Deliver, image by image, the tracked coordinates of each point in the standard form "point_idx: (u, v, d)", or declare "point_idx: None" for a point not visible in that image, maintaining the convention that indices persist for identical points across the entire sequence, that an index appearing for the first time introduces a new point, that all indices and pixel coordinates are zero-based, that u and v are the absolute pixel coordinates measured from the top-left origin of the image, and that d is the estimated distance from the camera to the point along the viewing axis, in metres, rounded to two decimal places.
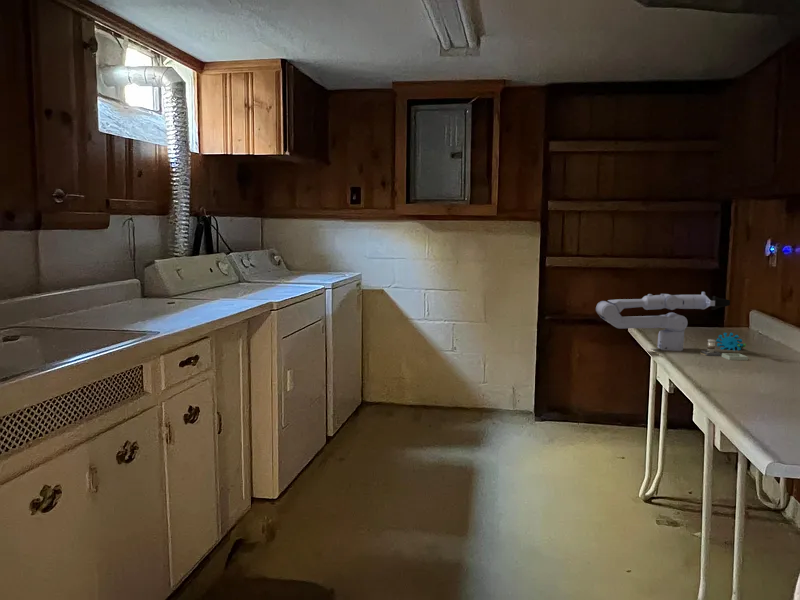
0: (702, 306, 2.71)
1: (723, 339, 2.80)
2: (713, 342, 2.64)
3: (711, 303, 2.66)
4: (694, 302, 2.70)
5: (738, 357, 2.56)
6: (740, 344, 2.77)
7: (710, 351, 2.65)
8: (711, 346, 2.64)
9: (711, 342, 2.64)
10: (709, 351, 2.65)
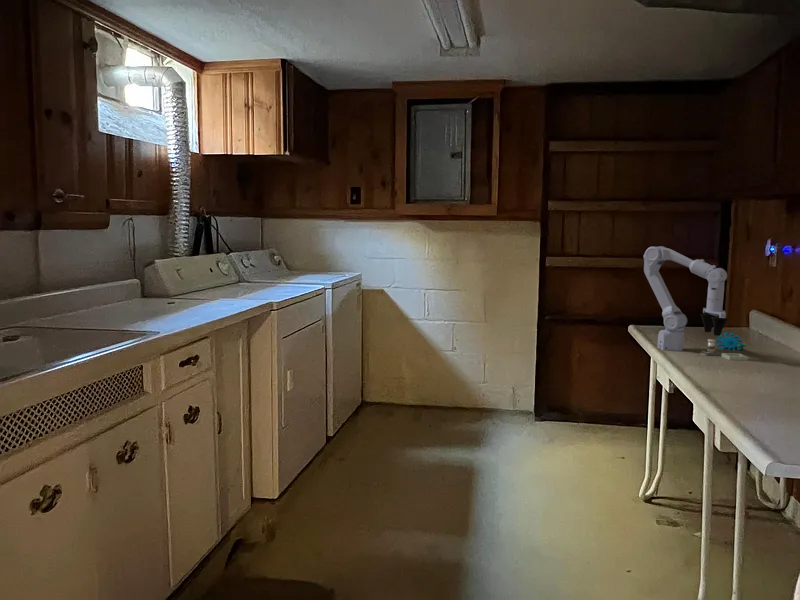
0: (712, 309, 2.61)
1: (723, 339, 2.80)
2: (713, 342, 2.64)
3: (723, 314, 2.57)
4: (718, 300, 2.60)
5: (738, 357, 2.56)
6: (740, 344, 2.77)
7: (710, 351, 2.65)
8: (711, 346, 2.64)
9: (711, 342, 2.64)
10: (709, 351, 2.65)
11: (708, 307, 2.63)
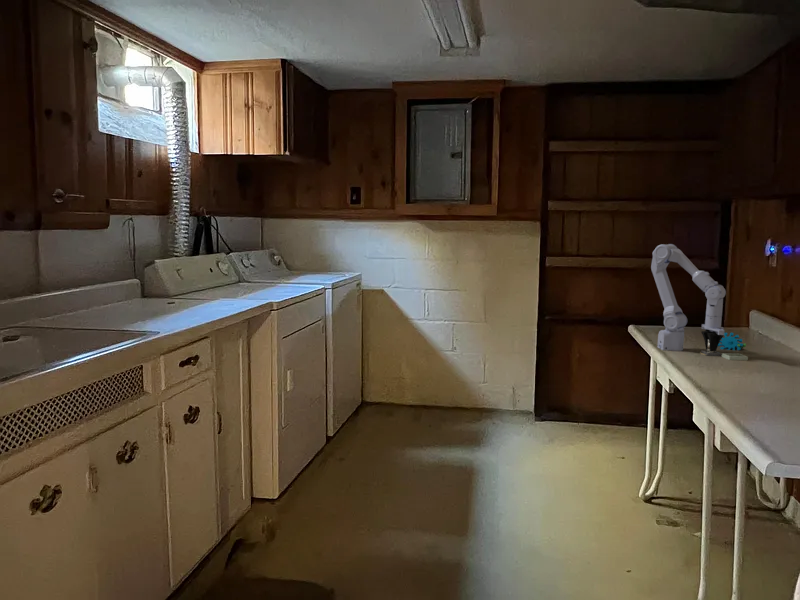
0: (711, 325, 2.62)
1: (723, 339, 2.80)
2: None
3: (721, 331, 2.58)
4: (717, 317, 2.61)
5: (738, 357, 2.56)
6: (740, 344, 2.77)
7: (710, 351, 2.65)
8: None
9: None
10: (709, 351, 2.65)
11: (707, 324, 2.64)
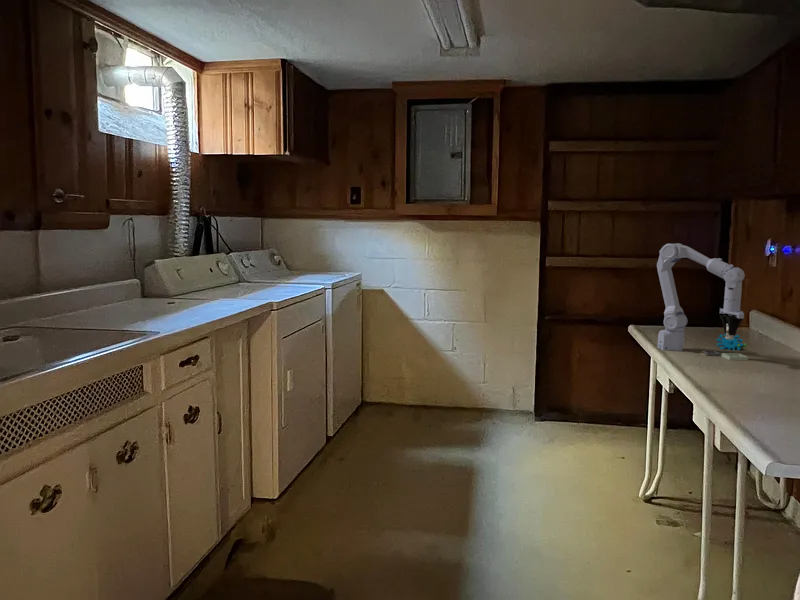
0: (730, 309, 2.57)
1: (723, 339, 2.81)
2: None
3: (741, 314, 2.52)
4: (736, 300, 2.56)
5: (738, 357, 2.56)
6: (740, 344, 2.77)
7: (729, 335, 2.59)
8: None
9: None
10: (728, 335, 2.59)
11: (725, 307, 2.58)
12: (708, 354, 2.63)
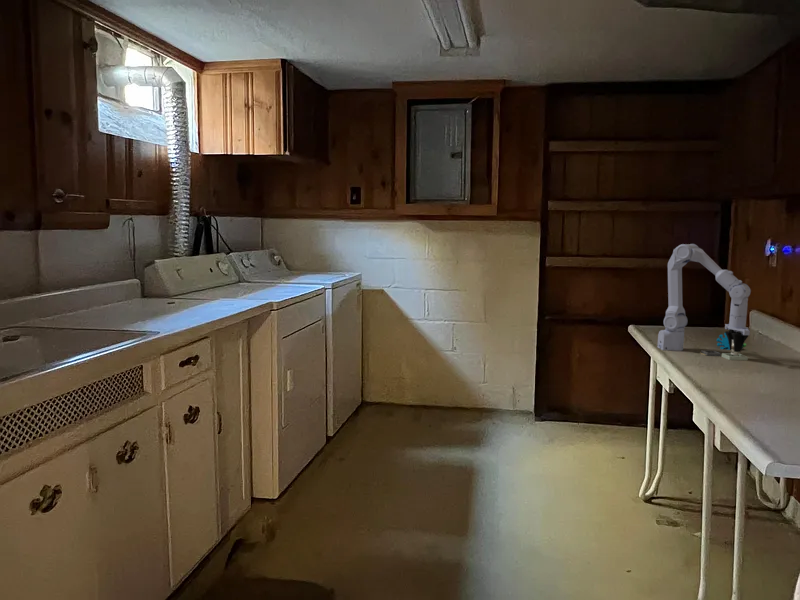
0: (735, 325, 2.56)
1: (723, 339, 2.81)
2: None
3: (747, 331, 2.51)
4: (741, 317, 2.55)
5: (738, 357, 2.56)
6: None
7: (734, 352, 2.58)
8: None
9: None
10: (733, 352, 2.58)
11: (731, 324, 2.57)
12: (708, 354, 2.63)
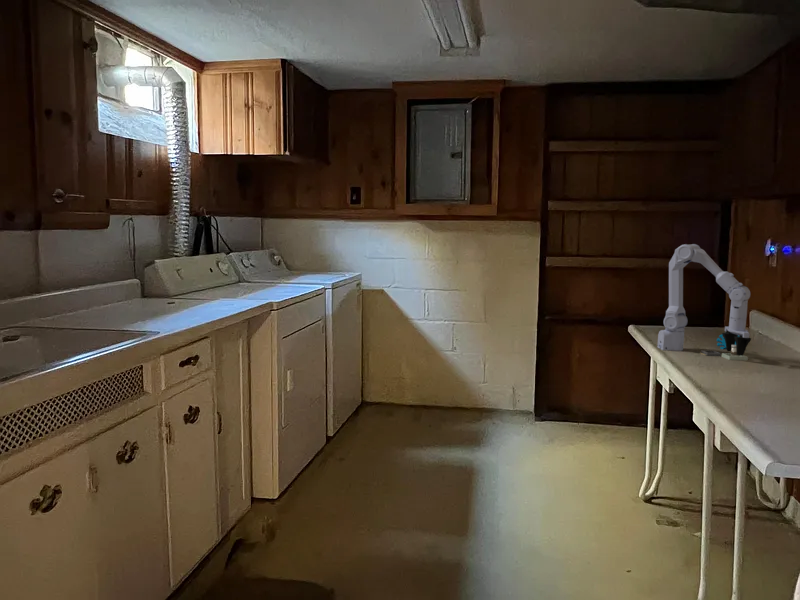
0: (735, 328, 2.56)
1: (723, 339, 2.81)
2: None
3: (746, 334, 2.51)
4: (741, 319, 2.55)
5: (738, 357, 2.56)
6: None
7: None
8: (735, 352, 2.58)
9: (735, 347, 2.58)
10: None
11: (731, 326, 2.57)
12: (708, 354, 2.63)
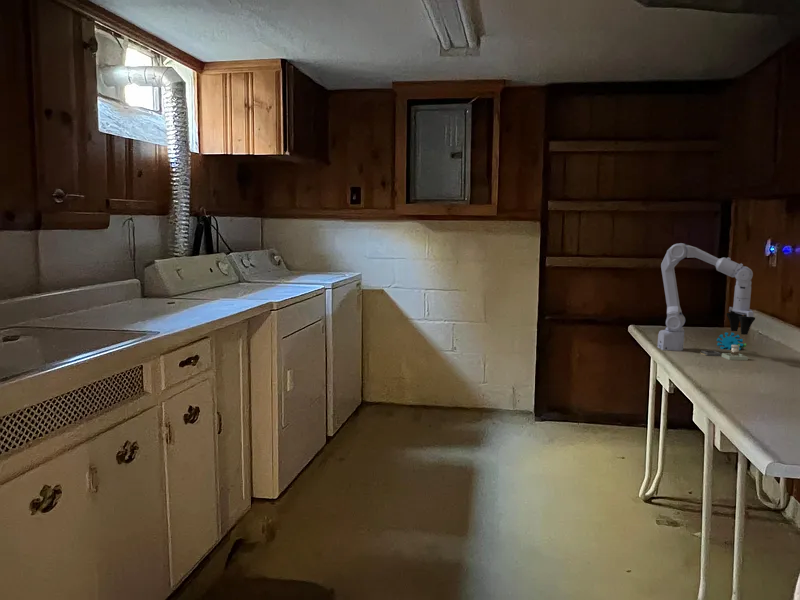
0: (739, 308, 2.60)
1: (723, 339, 2.81)
2: (737, 347, 2.58)
3: (750, 313, 2.55)
4: (745, 299, 2.59)
5: (738, 357, 2.56)
6: (740, 344, 2.77)
7: None
8: (734, 352, 2.58)
9: (735, 347, 2.58)
10: None
11: (735, 306, 2.61)
12: (708, 354, 2.63)
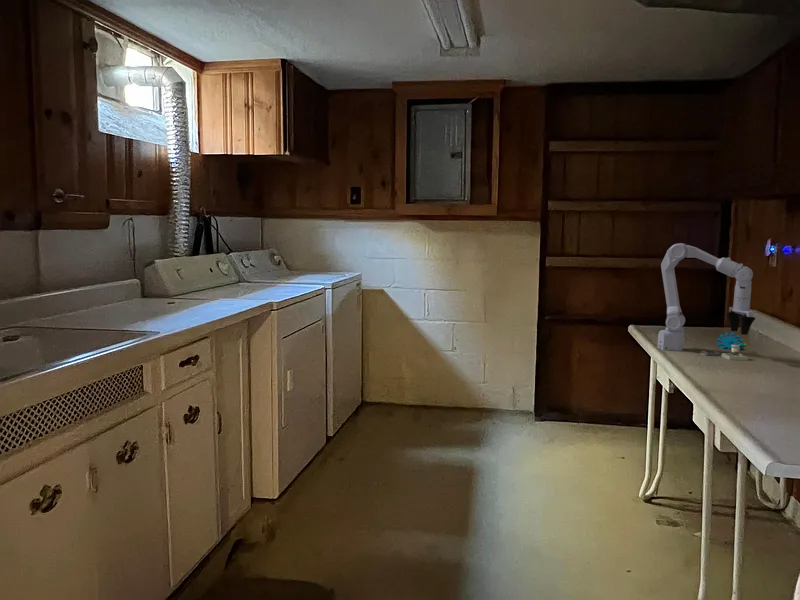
0: (739, 308, 2.60)
1: (724, 339, 2.81)
2: (737, 347, 2.58)
3: (750, 313, 2.55)
4: (745, 299, 2.59)
5: (738, 357, 2.56)
6: (740, 344, 2.77)
7: None
8: (734, 352, 2.58)
9: (735, 347, 2.58)
10: None
11: (735, 306, 2.61)
12: (708, 354, 2.63)
